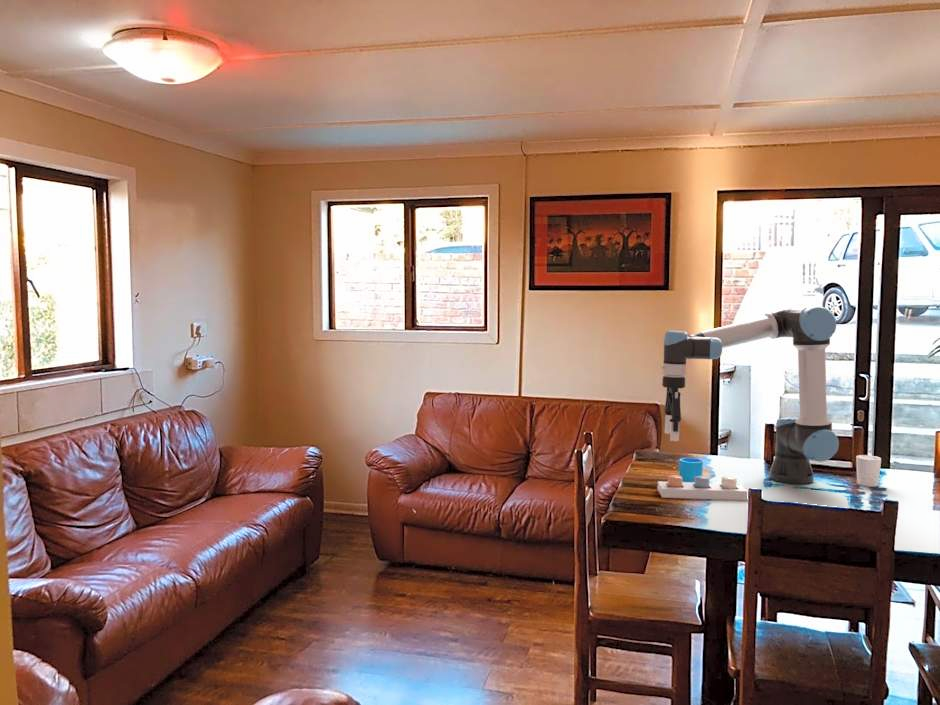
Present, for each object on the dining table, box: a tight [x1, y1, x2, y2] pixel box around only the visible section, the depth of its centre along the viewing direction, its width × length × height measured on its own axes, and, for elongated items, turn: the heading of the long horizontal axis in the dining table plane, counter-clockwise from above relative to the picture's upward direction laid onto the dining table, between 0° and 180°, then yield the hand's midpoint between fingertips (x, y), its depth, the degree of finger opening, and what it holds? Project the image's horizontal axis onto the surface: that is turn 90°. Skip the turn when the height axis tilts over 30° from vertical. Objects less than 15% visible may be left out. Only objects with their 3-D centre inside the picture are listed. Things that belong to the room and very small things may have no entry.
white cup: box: [855, 454, 882, 488], centre depth 265 cm, size 8×8×10 cm
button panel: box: [657, 480, 748, 501], centre depth 251 cm, size 28×10×3 cm, turn 84°
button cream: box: [721, 476, 738, 489], centre depth 250 cm, size 5×5×4 cm
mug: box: [678, 457, 704, 482], centre depth 270 cm, size 12×8×8 cm
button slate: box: [694, 475, 710, 488], centre depth 251 cm, size 5×5×4 cm
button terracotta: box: [667, 474, 682, 488], centre depth 252 cm, size 5×5×4 cm
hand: (671, 437), depth 253 cm, fingers open, 13 cm apart
